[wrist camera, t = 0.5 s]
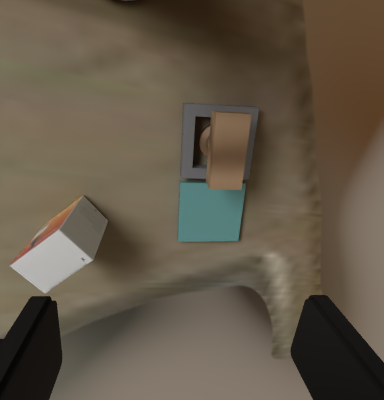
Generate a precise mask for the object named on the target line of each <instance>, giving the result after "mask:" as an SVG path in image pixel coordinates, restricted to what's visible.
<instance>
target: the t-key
mask: <svg viewBox="0 0 384 400" xmlns="http://www.w3.org/2000/svg"><path fill="white" fill-rule="evenodd" d="M251 115H252V114H249V113H245V112H231V111H211V123H210V125H209V126H208V127H206V128H205V129H204V130H203V131H202V133H201V135H200V138H199V146H200V149H201V151H202V153H203V154H204V155H205V156H206V157H207V158H208V161H207V173H206V183H207V185H208V187H209V189H210V190H242V182H243V175H244V167H245V160H246V152H247V145H248V138H249V130H250V123H251Z"/></svg>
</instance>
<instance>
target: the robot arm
mask: <svg viewBox="0 0 384 400" xmlns="http://www.w3.org/2000/svg"><path fill="white" fill-rule="evenodd" d="M121 1H136V0H121ZM291 356H292V359H293V361H294V363H295V365H296V367H297V369H298V371H299V373H300V375H301V377H302V379H303V381H304V383H305V385H306V386H307V388H308V390H309V392H310V394H311V396H312V398H313V400H384V362H383V361H382V360H381V359H380V358H379V357H378V356H377V354H376V353H375V352H374V351H373V349H372V348H371V347H370V346H369V345H368V343H367V342H366V341H365V340H364V339H363V338H362V336H361V335H360V334H359V333H358V332H357V331H356V329H355V328H354V327H353V326H352V325H351V323H350V322H349V321H348V320H347V319H346V318H345V316H344V315H343V314H342V313H341V312H340V310H339V309H338V308H337V307H336V306H335V304H334V303H333V302H332V301H331V300H330V299H329V297H328V296H326V295H311V296H309V298H308V299H306V300H305V303H304V306H303V309H302V313H301V316H300V319H299V323H298V326H297V329H296V333H295V336H294V339H293V342H292V346H291ZM61 363H62V349H61V339H60V330H59V320H58V311H57V302H56V301H52V300H51V297H50V296H32V297H31V298H30V299H29V300H28V302H27V304H26V305H25V307H24V308H23V310H22V311H21V313H20V315H19V316H18V318H17V319H16V321H15V322H14V324H13V326H12V327H11V329H10V330H9V332H8V333H7V335H6V337H5V338H4V339H0V400H49V398H50V395H51V393H52V390H53V387H54V384H55V381H56V379H57V375H58V373H59V370H60V367H61Z"/></svg>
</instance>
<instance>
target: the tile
mask: <svg viewBox="0 0 384 400" xmlns="http://www.w3.org/2000/svg"><path fill="white" fill-rule="evenodd" d="M245 188H246V183H245V182H242V190H210V189H209V187H208V185H207V183H206V181H180V191H179V214H178V238H177V239H178V242H199V241H238V238H239V231H240V224H241V217H242V210H243V203H244V195H245Z"/></svg>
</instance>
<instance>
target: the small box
mask: <svg viewBox="0 0 384 400" xmlns="http://www.w3.org/2000/svg"><path fill="white" fill-rule="evenodd" d="M107 223H108V220H107V219H106V218H105V217H104V216H103V215H102V214H101V213H100V212H99V211H98V210H97V209H96V208H95V207H94V206H93V205H92V204H91V203H90V202H89V201H88V200H87V199H86V198H85V197H84V196H83V195H82V196H81V197H80V198H78V199H77V200H76V201H75V202H74V203H72V204H71V205H70V206H68V207H67V208H66V209H64V210H63V211H61V212H60V213H59V214H57V215H56V216H55V217H53V218H52V219H51V220H49V221H48V222H47V223H45V224H44V225H43V227H42V228H41V229H40V230H39V232H38V233H37V234H36V235H35V236H34V237H33V238H32V240H31V241H30V242H29V243H28V244H27V246H26V247H25V248H24V249H23V250H22V251H21V252H20V254H19V255H18V256H17V257H16V258H15V259H14V261H13V262H12V263H11V264H10V266H11V267H12V268H13V269H14V270H15V271H17V272H18V273H19V274H21V275H22V276H23V277H24V278H26V279H27V280H28V281H29V282H31V283H32V284H33V285H35V286H36V287H37V288H38V289H40V290H41V291H42V292H44V293H47V292H49V291H50V290H51V289H52V288H54V287H55V286H57V285H58V284H59V283H61V282H62V281H64V280H65V279H66V278H68V277H69V276H71V275H72V274H74V273H75V272H76V271H78V270H79V269H81V268H82V267H84V266H85V265H87V264H89V263H90V262H92V261H93V260H94V257H95V255H96V252H97V250H98V247H99V244H100V242H101V239H102V237H103V234H104V231H105V229H106V226H107Z"/></svg>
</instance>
